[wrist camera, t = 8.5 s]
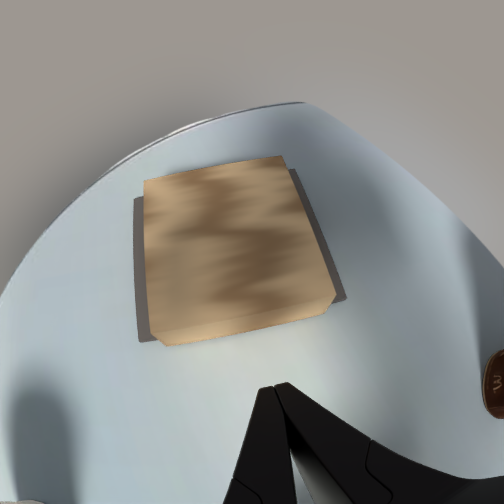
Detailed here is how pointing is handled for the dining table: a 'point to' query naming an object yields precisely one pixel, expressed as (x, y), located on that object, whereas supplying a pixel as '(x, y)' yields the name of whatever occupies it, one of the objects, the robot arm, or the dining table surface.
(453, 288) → the dining table surface
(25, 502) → the white cup
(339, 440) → the robot arm
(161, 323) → the oak block
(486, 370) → the coffee cup
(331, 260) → the mat
